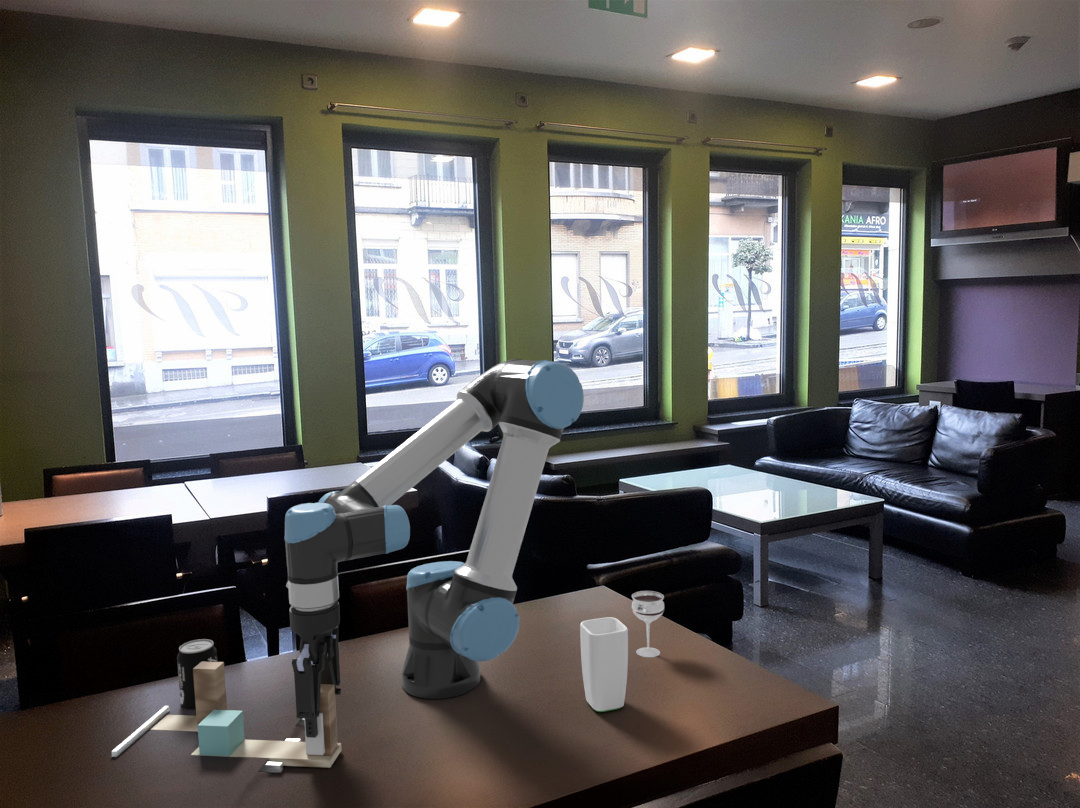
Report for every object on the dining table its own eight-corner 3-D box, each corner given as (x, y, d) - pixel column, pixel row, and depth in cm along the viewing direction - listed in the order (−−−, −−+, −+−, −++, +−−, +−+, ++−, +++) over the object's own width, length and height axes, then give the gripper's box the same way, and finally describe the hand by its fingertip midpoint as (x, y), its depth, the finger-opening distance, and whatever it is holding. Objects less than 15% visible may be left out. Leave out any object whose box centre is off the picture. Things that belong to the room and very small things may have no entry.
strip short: (232, 723, 137) (228, 659, 136) (217, 738, 132) (213, 672, 131) (167, 721, 139) (162, 657, 137) (150, 736, 134) (145, 670, 132)
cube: (244, 739, 130) (242, 710, 129) (229, 756, 125) (227, 726, 124) (215, 738, 130) (213, 709, 130) (199, 755, 125) (197, 725, 125)
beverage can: (205, 718, 140) (201, 654, 138) (173, 715, 141) (168, 651, 140) (227, 701, 146) (223, 639, 145) (196, 698, 147) (191, 637, 146)
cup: (631, 711, 139) (631, 630, 138) (593, 718, 137) (592, 636, 135) (615, 692, 146) (614, 615, 144) (578, 699, 144) (577, 621, 142)
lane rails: (317, 723, 137) (316, 710, 137) (280, 772, 122) (279, 757, 122) (166, 718, 140) (165, 705, 140) (112, 765, 125) (111, 751, 125)
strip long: (341, 750, 128) (338, 681, 127) (330, 767, 123) (326, 696, 122) (207, 744, 130) (202, 677, 129) (191, 761, 125) (186, 692, 124)
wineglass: (641, 642, 168) (641, 588, 167) (670, 650, 164) (670, 594, 163) (625, 654, 163) (625, 598, 161) (655, 662, 159) (654, 604, 157)
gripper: (313, 583, 132) (320, 715, 135) (265, 624, 115) (275, 775, 117) (356, 584, 131) (363, 716, 134) (315, 625, 114) (323, 777, 116)
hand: (322, 743), depth 125 cm, fingers open, 5 cm apart
